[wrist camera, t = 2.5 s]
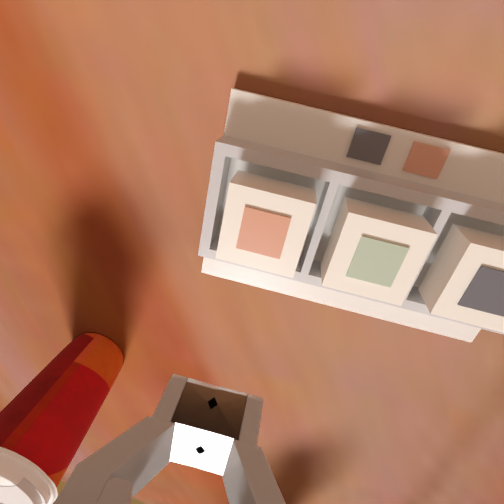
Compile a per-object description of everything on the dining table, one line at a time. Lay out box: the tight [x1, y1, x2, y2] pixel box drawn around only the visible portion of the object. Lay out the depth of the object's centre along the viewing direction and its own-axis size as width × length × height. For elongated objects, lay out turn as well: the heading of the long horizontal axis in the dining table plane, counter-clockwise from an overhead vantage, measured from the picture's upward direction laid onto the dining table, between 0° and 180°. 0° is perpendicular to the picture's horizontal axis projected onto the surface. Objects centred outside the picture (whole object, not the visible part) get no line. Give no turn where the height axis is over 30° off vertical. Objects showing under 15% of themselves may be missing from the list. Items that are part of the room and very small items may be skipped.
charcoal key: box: [418, 224, 504, 333], centre depth 24 cm, size 6×6×3 cm
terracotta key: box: [216, 170, 317, 278], centre depth 24 cm, size 6×6×3 cm
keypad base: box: [198, 88, 504, 343], centre depth 26 cm, size 24×15×4 cm, turn 78°
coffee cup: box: [0, 333, 124, 504], centre depth 33 cm, size 8×8×15 cm
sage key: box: [321, 197, 438, 306], centre depth 24 cm, size 6×6×3 cm
